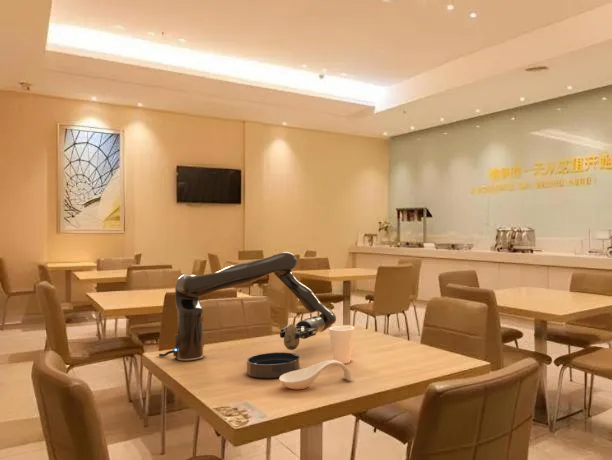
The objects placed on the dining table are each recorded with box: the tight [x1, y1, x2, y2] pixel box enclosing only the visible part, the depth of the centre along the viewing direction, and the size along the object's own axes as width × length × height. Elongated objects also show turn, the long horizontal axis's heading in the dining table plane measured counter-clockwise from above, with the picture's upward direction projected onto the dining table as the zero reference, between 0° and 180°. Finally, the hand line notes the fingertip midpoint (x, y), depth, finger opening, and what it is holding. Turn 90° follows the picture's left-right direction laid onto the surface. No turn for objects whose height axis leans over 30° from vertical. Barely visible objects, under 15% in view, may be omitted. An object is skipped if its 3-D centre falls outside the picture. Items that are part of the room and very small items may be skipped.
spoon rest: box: [278, 359, 352, 390], centre depth 175 cm, size 24×12×7 cm, turn 120°
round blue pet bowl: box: [246, 351, 301, 379], centre depth 190 cm, size 18×18×5 cm
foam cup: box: [328, 325, 355, 365], centre depth 205 cm, size 10×9×13 cm
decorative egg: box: [283, 323, 301, 351], centre depth 207 cm, size 6×6×10 cm
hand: (288, 335), depth 205 cm, fingers closed on decorative egg, 6 cm apart
